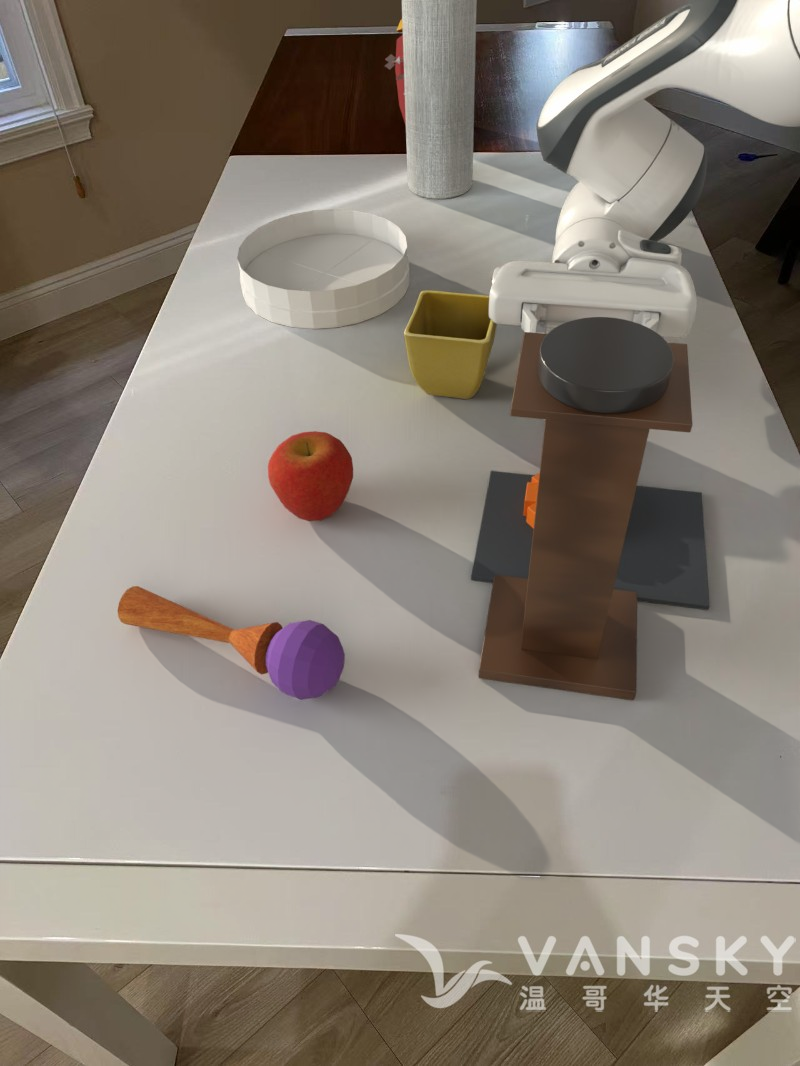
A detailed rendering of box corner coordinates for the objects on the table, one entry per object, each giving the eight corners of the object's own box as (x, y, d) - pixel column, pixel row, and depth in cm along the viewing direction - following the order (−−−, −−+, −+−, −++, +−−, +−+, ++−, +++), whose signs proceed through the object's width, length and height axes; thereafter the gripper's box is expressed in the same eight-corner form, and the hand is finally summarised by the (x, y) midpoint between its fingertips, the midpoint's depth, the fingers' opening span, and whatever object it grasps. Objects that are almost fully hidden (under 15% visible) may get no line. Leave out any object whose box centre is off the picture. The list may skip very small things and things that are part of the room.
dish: (442, 267, 110) (442, 231, 107) (343, 347, 98) (339, 310, 95) (312, 229, 120) (308, 195, 116) (207, 298, 107) (199, 263, 104)
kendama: (147, 557, 70) (355, 616, 63) (160, 611, 74) (359, 673, 66) (98, 598, 66) (316, 666, 59) (115, 653, 69) (323, 724, 62)
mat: (700, 495, 78) (701, 492, 78) (708, 610, 69) (710, 606, 69) (490, 474, 82) (491, 470, 81) (470, 580, 72) (471, 576, 72)
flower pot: (485, 414, 88) (488, 341, 82) (405, 404, 90) (402, 333, 84) (497, 366, 94) (501, 296, 88) (422, 359, 96) (421, 289, 89)
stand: (634, 600, 70) (709, 313, 50) (634, 701, 63) (719, 414, 43) (493, 583, 72) (511, 299, 52) (478, 678, 65) (492, 394, 45)
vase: (485, 183, 128) (492, -22, 109) (442, 206, 123) (442, -4, 104) (437, 167, 133) (436, -32, 114) (394, 188, 128) (385, -16, 109)
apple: (259, 510, 80) (245, 448, 74) (316, 467, 84) (307, 405, 78) (316, 546, 76) (305, 484, 70) (373, 500, 80) (367, 437, 74)
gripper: (496, 236, 87) (479, 306, 78) (697, 248, 84) (704, 322, 75) (493, 290, 92) (477, 362, 82) (684, 303, 88) (689, 380, 79)
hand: (587, 344), depth 78 cm, fingers open, 8 cm apart
